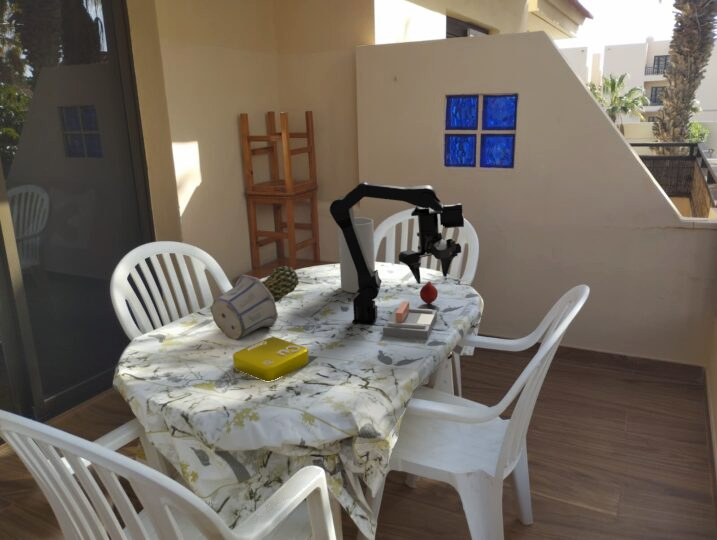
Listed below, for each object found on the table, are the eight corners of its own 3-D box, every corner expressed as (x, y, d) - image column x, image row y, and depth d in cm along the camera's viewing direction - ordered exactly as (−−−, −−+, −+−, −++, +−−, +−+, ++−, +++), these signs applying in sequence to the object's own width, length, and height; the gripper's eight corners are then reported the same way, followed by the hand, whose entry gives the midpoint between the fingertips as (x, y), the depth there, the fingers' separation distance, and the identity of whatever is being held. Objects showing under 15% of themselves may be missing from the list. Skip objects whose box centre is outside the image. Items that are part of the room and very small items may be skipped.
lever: (395, 322, 168) (395, 312, 167) (402, 310, 177) (402, 301, 176) (402, 322, 167) (402, 313, 166) (409, 310, 176) (409, 301, 175)
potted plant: (236, 301, 156) (307, 252, 176) (196, 293, 167) (267, 247, 187) (255, 353, 164) (321, 300, 183) (216, 342, 175) (282, 293, 194)
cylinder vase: (335, 286, 212) (332, 220, 205) (366, 281, 217) (363, 216, 210) (349, 296, 201) (346, 226, 194) (381, 290, 206) (379, 222, 199)
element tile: (273, 349, 161) (272, 333, 159) (312, 363, 151) (310, 346, 150) (231, 369, 150) (229, 352, 148) (269, 385, 140) (267, 367, 139)
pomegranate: (431, 308, 186) (431, 285, 184) (416, 305, 189) (416, 282, 187) (440, 303, 190) (440, 280, 188) (425, 300, 194) (425, 277, 192)
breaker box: (383, 335, 166) (382, 325, 165) (396, 314, 182) (395, 305, 181) (427, 339, 163) (427, 328, 162) (436, 317, 178) (436, 307, 177)
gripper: (415, 239, 156) (419, 293, 161) (471, 227, 164) (473, 279, 168) (395, 233, 166) (399, 284, 171) (449, 222, 174) (452, 271, 178)
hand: (432, 280), depth 172 cm, fingers open, 9 cm apart
